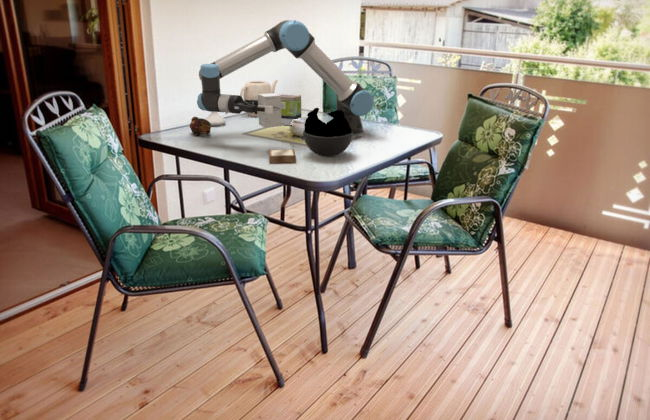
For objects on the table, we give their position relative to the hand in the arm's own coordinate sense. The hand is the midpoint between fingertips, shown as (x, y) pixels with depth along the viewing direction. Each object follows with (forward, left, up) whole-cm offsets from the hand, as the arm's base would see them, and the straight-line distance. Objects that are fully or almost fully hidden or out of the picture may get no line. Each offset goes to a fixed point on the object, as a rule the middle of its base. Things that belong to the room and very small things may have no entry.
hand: (279, 107), depth 200 cm
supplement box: (+4, -2, -8) cm, 9 cm away
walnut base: (0, +12, -18) cm, 22 cm away
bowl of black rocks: (-19, +7, -19) cm, 28 cm away
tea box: (-5, -60, -19) cm, 63 cm away
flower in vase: (+32, -59, -19) cm, 70 cm away
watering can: (+8, -84, -19) cm, 87 cm away
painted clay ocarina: (+36, -36, -19) cm, 54 cm away
